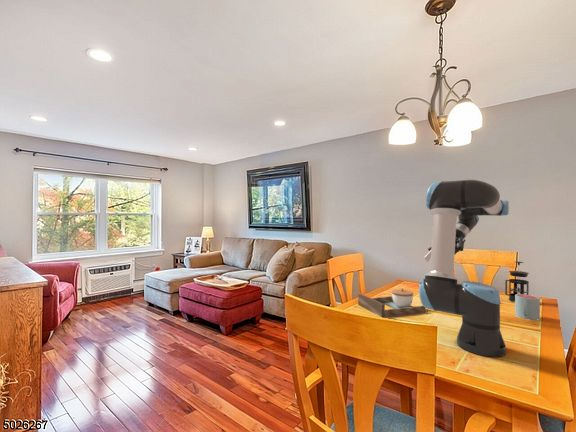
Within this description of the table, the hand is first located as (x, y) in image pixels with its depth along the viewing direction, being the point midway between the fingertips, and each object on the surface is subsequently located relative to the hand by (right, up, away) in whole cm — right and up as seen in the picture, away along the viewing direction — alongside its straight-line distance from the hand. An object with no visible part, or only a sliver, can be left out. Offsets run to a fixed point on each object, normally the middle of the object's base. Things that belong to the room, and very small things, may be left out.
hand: (436, 259), depth 147 cm
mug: (+40, -27, -7) cm, 49 cm away
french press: (+59, -28, +22) cm, 69 cm away
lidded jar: (-14, -27, +9) cm, 31 cm away
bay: (-21, -27, +6) cm, 35 cm away
